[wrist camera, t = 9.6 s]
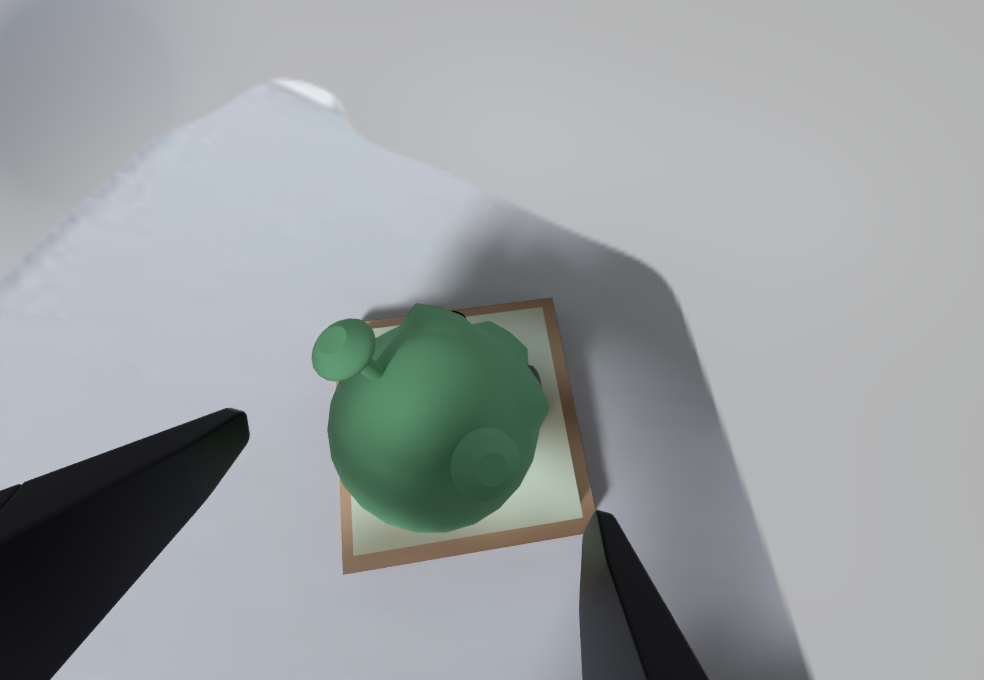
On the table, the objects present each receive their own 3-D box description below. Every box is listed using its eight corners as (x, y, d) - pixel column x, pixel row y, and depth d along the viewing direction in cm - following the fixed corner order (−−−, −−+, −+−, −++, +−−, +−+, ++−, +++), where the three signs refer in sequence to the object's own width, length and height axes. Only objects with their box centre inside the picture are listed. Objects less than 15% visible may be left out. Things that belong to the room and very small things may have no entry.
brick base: (588, 522, 20) (610, 538, 16) (357, 561, 19) (330, 586, 15) (546, 310, 23) (557, 286, 19) (347, 335, 22) (323, 315, 19)
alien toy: (561, 401, 18) (657, 349, 8) (460, 543, 16) (431, 691, 6) (448, 315, 19) (414, 180, 9) (341, 441, 17) (160, 436, 7)
